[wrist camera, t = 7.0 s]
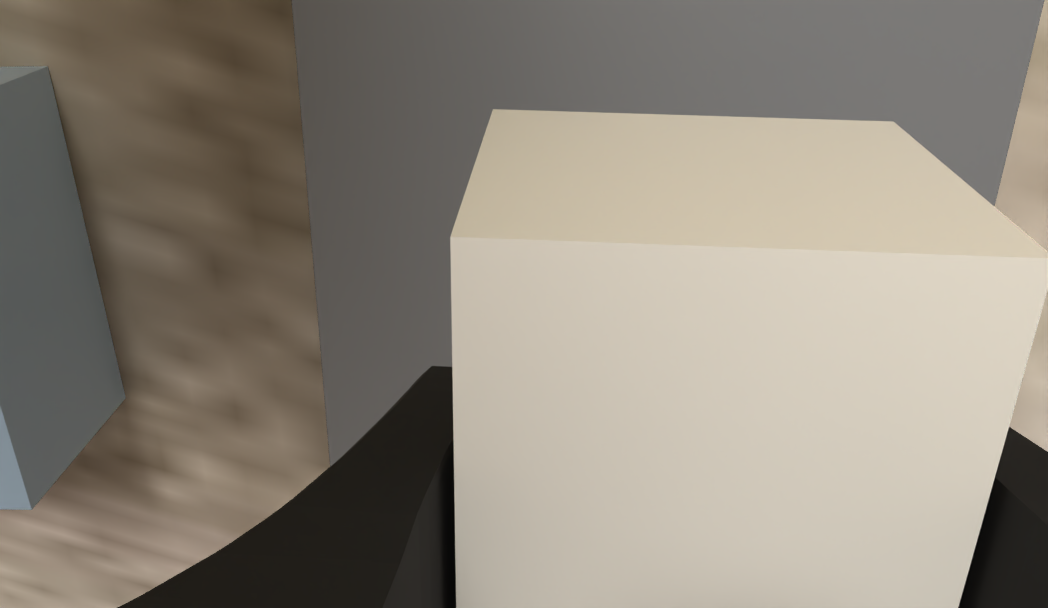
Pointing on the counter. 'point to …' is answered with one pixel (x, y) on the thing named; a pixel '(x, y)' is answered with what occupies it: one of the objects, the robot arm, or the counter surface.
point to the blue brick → (45, 300)
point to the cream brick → (727, 363)
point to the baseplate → (587, 86)
